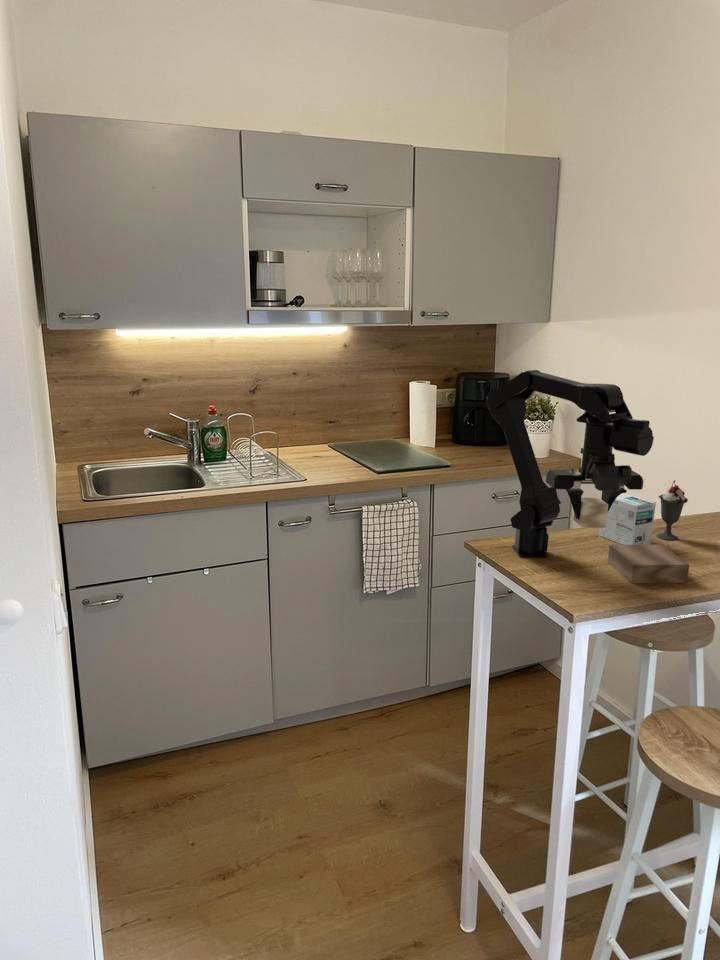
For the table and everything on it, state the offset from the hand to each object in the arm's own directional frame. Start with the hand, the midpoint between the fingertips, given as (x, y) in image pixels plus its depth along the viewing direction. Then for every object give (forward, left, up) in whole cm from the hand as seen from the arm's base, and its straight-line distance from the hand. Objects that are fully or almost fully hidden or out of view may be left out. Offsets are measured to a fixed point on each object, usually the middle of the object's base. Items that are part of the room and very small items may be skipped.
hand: (589, 519), depth 152 cm
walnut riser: (+14, 0, -12) cm, 18 cm away
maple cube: (0, 0, -1) cm, 1 cm away
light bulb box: (+18, +20, -12) cm, 29 cm away
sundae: (+30, +22, -12) cm, 39 cm away
